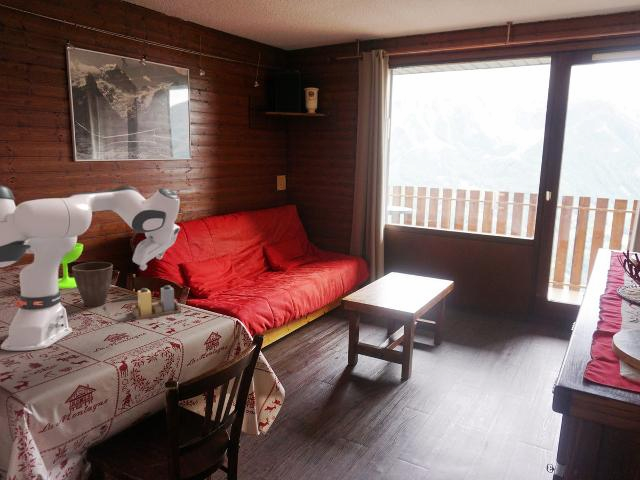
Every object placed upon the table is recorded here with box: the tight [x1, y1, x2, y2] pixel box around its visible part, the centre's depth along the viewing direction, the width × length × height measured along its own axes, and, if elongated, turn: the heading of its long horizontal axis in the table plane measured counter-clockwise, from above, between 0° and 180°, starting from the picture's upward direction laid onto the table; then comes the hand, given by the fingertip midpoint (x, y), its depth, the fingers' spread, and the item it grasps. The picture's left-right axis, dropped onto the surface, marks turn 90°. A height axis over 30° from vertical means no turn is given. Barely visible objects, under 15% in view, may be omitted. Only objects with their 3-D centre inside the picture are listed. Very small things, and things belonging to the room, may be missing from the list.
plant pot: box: [71, 261, 114, 308], centre depth 192 cm, size 15×15×16 cm
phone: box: [110, 295, 138, 304], centre depth 197 cm, size 8×1×15 cm
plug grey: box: [160, 284, 175, 312], centre depth 183 cm, size 4×4×10 cm
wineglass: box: [58, 242, 84, 290], centre depth 217 cm, size 16×16×18 cm
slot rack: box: [131, 298, 182, 320], centre depth 182 cm, size 9×16×4 cm, turn 123°
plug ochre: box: [137, 287, 152, 316], centre depth 179 cm, size 4×4×10 cm
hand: (151, 263), depth 169 cm, fingers open, 8 cm apart
